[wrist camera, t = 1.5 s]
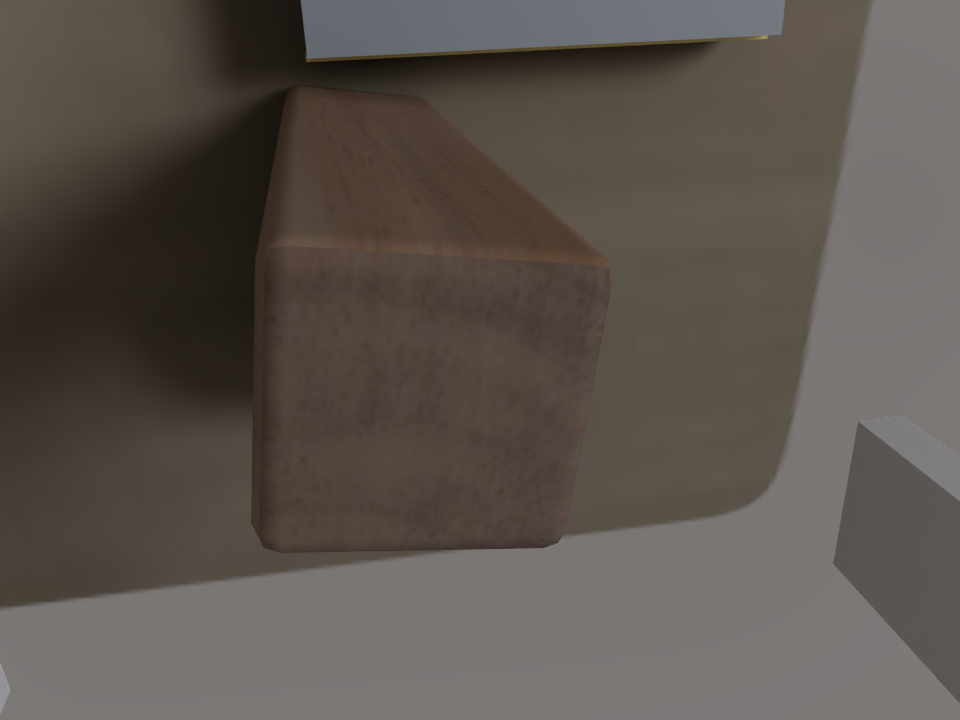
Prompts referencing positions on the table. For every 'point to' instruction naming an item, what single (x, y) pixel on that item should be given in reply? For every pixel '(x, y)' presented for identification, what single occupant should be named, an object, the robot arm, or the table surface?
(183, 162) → the table surface
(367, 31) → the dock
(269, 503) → the wooden block
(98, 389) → the table surface
